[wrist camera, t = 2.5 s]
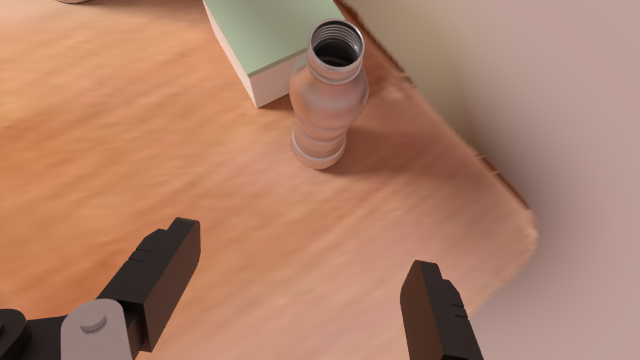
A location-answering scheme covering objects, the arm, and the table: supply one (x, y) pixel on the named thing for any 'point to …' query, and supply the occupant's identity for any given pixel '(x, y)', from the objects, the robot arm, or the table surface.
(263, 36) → the raised stand
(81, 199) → the table surface
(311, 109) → the plastic bottle
